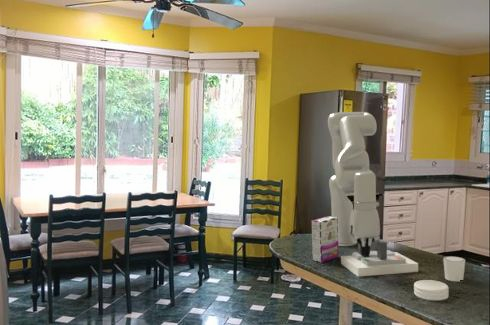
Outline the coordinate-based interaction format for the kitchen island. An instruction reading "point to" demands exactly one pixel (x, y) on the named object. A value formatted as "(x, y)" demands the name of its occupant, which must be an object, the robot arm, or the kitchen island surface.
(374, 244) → the light bulb
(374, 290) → the kitchen island surface
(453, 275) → the light grey cup
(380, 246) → the handle
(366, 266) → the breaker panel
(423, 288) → the white ribbed round piece
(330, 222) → the candy bar box
